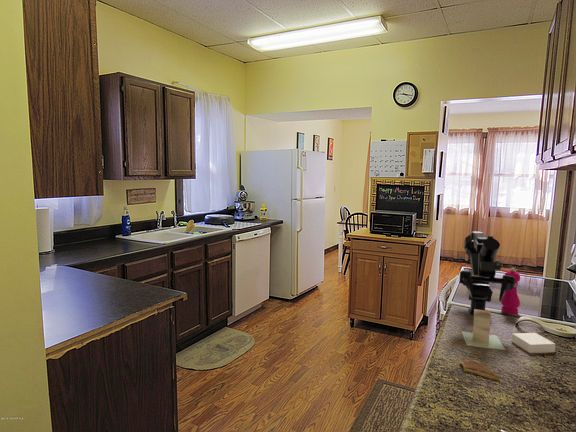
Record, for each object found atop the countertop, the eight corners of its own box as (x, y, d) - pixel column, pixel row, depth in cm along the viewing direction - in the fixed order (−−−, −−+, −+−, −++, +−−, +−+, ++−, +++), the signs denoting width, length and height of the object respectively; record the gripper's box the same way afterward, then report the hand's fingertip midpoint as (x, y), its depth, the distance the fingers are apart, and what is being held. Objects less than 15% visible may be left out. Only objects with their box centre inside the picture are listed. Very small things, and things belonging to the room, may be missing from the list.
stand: (511, 341, 135) (512, 333, 135) (534, 340, 136) (535, 332, 136) (530, 353, 126) (530, 344, 126) (554, 352, 127) (555, 343, 127)
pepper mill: (522, 315, 161) (526, 269, 159) (506, 314, 161) (509, 269, 159) (513, 309, 168) (516, 265, 166) (496, 309, 168) (500, 265, 166)
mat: (461, 332, 143) (461, 331, 143) (496, 336, 140) (496, 335, 140) (467, 345, 131) (467, 344, 131) (505, 350, 128) (505, 349, 128)
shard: (501, 382, 109) (501, 377, 108) (476, 384, 108) (476, 378, 108) (478, 364, 119) (478, 359, 119) (455, 365, 119) (456, 359, 118)
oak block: (472, 337, 137) (474, 308, 136) (487, 340, 135) (489, 311, 134) (472, 343, 133) (474, 313, 131) (488, 346, 131) (490, 315, 129)
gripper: (461, 250, 147) (459, 285, 138) (516, 255, 139) (518, 292, 130) (460, 265, 155) (458, 299, 146) (512, 271, 147) (513, 307, 138)
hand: (485, 299), depth 140 cm, fingers open, 9 cm apart
